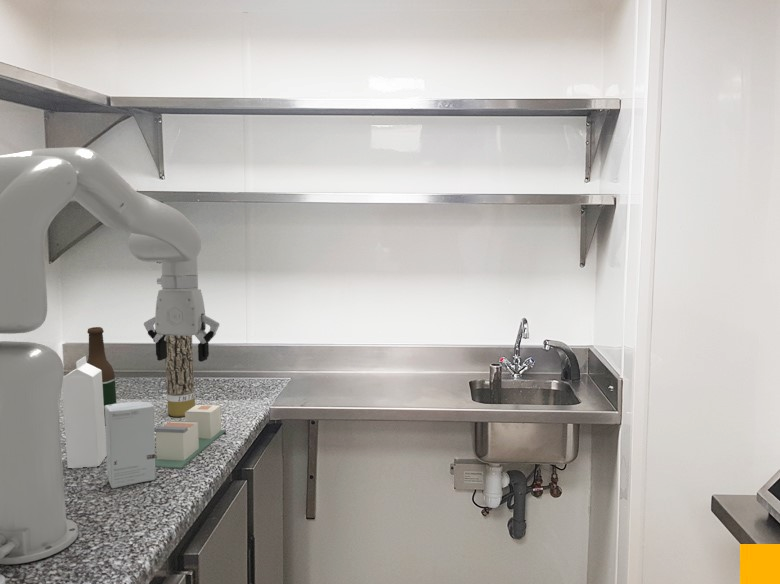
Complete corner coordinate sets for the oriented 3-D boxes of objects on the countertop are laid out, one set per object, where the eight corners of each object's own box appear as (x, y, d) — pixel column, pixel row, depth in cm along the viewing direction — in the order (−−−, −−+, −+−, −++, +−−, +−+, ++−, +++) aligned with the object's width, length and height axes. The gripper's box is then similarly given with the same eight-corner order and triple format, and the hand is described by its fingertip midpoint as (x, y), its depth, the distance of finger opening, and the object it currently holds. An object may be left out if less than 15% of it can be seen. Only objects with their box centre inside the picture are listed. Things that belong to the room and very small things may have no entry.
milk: (107, 456, 133) (101, 355, 131) (98, 467, 127) (92, 361, 125) (76, 458, 132) (70, 356, 130) (66, 469, 126) (60, 362, 124)
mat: (180, 468, 126) (180, 467, 126) (143, 466, 127) (143, 465, 127) (225, 431, 148) (225, 430, 148) (194, 430, 149) (193, 428, 149)
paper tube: (162, 416, 161) (157, 320, 158) (180, 408, 167) (175, 316, 164) (183, 418, 158) (179, 321, 155) (200, 411, 164) (196, 317, 162)
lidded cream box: (185, 461, 129) (184, 429, 128) (154, 459, 130) (153, 428, 129) (200, 448, 136) (199, 418, 135) (171, 447, 137) (169, 417, 136)
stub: (210, 438, 142) (209, 412, 142) (186, 437, 143) (184, 412, 142) (221, 430, 148) (220, 405, 148) (197, 429, 149) (196, 404, 148)
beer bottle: (113, 426, 153) (107, 329, 150) (79, 428, 151) (73, 331, 149) (121, 416, 160) (116, 324, 158) (89, 418, 159) (83, 325, 156)
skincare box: (111, 489, 116) (106, 412, 114) (106, 478, 121) (102, 404, 120) (158, 479, 120) (154, 404, 119) (151, 469, 126) (148, 397, 124)
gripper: (134, 284, 135) (137, 362, 137) (210, 285, 133) (212, 364, 134) (152, 282, 143) (154, 356, 144) (224, 282, 140) (226, 357, 142)
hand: (182, 359), depth 139 cm, fingers open, 9 cm apart
